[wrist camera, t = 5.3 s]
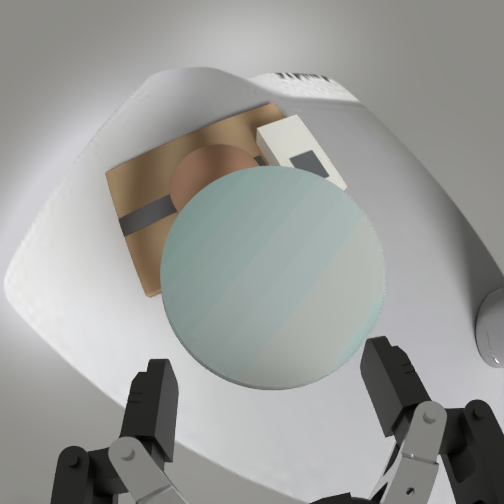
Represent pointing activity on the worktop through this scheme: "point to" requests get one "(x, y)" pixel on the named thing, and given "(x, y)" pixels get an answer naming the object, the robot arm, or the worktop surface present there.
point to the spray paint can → (272, 277)
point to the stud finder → (295, 149)
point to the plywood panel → (179, 182)
